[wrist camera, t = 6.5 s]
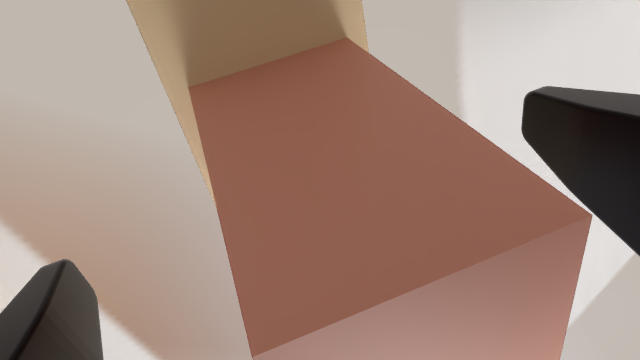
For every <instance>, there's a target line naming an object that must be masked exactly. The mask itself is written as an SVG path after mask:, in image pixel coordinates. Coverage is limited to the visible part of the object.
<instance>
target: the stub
mask: <svg viewBox="0 0 640 360" xmlns="http://www.w3.org/2000/svg"><path fill="white" fill-rule="evenodd" d="M126 1H127V3H128V6H129V8H130V10H131V12H132V15H133V17H134V19H135V22H136V24H137V26H138V29H139V31H140V33H141V35H142V38H143V40H144V42H145V45H146V47H147V49H148V52H149V54H150V56H151V59H152V61H153V63H154V66H155V68H156V70H157V72H158V75H159V77H160V79H161V81H162V84H163V86H164V88H165V91H166V93H167V95H168V98H169V100H170V102H171V105H172V107H173V109H174V111H175V114H176V116H177V118H178V121H179V123H180V125H181V128H182V130H183V132H184V134H185V137H186V139H187V141H188V144H189V146H190V148H191V150H192V153H193V155H194V157H195V160H196V162H197V164H198V166H199V169H200V171H201V173H202V176H203V178H204V180H205V183H206V185H207V187H208V190H209V192H210V194H211V197H212V199H213V201H214V203H215V205H216V208H217V211H218V216H219V220H220V224H221V228H222V232H223V237H224V241H225V245H226V249H227V253H228V258H229V262H230V266H231V270H232V274H233V279H234V283H235V287H236V291H237V296H238V300H239V304H240V309H241V313H242V317H243V321H244V325H245V329H246V333H247V338H248V342H249V347H250V350H251V355H252V358H253V360H560V357H561V352H562V348H563V343H564V339H565V335H566V330H567V326H568V321H569V317H570V313H571V308H572V304H573V299H574V295H575V290H576V286H577V282H578V277H579V273H580V268H581V264H582V259H583V255H584V251H585V246H586V242H587V237H588V233H589V228H590V224H591V220H592V215H591V214H590V213H589V212H587V211H586V210H585V209H583V208H582V207H580V206H579V205H578V204H576V203H575V202H573V201H572V200H571V199H569V198H568V197H567V196H565V195H564V194H562V193H561V192H560V191H558V190H557V189H556V188H554V187H553V186H551V185H550V184H549V183H547V182H546V181H545V180H543V179H542V178H540V177H539V176H538V175H536V174H535V173H534V172H532V171H531V170H529V169H528V168H527V167H525V166H524V165H522V164H521V163H520V162H518V161H517V160H516V159H514V158H513V157H511V156H510V155H509V154H507V153H506V152H505V151H503V150H502V149H500V148H499V147H498V146H496V145H495V144H494V143H492V142H491V141H489V140H488V139H487V138H485V137H484V136H482V135H481V134H480V133H478V132H477V131H476V130H474V129H473V128H471V127H470V126H469V125H467V124H466V123H465V122H463V121H462V120H460V119H459V118H458V117H456V116H455V115H453V114H452V113H451V112H449V111H448V110H447V109H445V108H444V107H442V106H441V105H440V104H438V103H437V102H435V101H434V100H433V99H431V98H430V97H429V96H427V95H426V94H424V93H423V92H422V91H420V90H419V89H418V88H416V87H415V86H414V85H412V84H411V83H409V82H408V81H407V80H405V79H404V78H402V77H401V76H400V75H398V74H397V73H396V72H394V71H393V70H391V69H390V68H389V67H387V66H386V65H385V64H383V63H382V62H380V61H379V60H378V59H376V58H375V57H374V56H372V55H371V54H369V51H368V43H367V36H366V28H365V21H364V13H363V5H362V0H126Z"/></svg>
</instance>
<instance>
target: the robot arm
mask: <svg viewBox="0 0 640 360" xmlns="http://www.w3.org/2000/svg"><path fill="white" fill-rule="evenodd" d="M522 134H523V137H524V138H525V140H526V141H527V142H528V144H529V145H530V146H531V147H532V148H533V149H534V150H535V152H536V153H537V154H538V155H539V156H540V157H541V159H542V160H543V161H544V162H545V163H546V164H547V165H548V167H549V168H550V169H551V170H552V171H553V172H554V173H555V175H556V176H557V177H558V178H559V179H560V180H561V182H562V183H563V184H564V185H565V186H566V187H567V188H568V189H569V190H570V191H571V192H572V193H573V194H574V195H575V196H576V197H577V198H578V199H579V200H580V201H581V202H582V203H583V204H584V205H585V206H586V207H587V208H588V209H589V210H591V211H592V212H593V213H594V214H595V215H596V216H597V217H598V218H599V219H600V220H601V221H602V222H603V223H604V224H606V225H607V226H608V227H609V228H610V229H611V230H612V231H613V232H614V233H615V234H616V235H617V236H618V237H619V238H621V239H622V240H623V241H624V242H625V243H626V244H627V245H628V246H629V247H630V248H631V249H632V250H633V251H634V252H636V253H637V254H638V255H639V256H640V95H638V94H627V93H616V92H606V91H595V90H584V89H573V88H562V87H552V86H546V87H542V88H539V89H536V90H534V91H531V92H529V93H528V94H527V95H526V96H525V98H524V104H523V116H522ZM0 360H103V350H102V341H101V331H100V321H99V311H98V302H97V297H96V294H95V292H94V290H93V288H92V287H91V286H90V284H89V283H88V282H87V280H86V279H85V278H84V276H83V275H82V274H81V272H80V271H79V270H78V268H77V267H76V266H75V265H74V263H73V262H71V261H70V260H67V259H63V260H60V261H57V262H55V263H51V264H49V265H46V266H43V267H42V268H40V269H39V271H38V272H37V273H36V274H35V275H34V276H33V277H32V278H31V280H30V281H29V282H28V283H27V284H26V285H25V286H24V287H23V289H22V290H21V291H20V292H19V293H18V294H17V295H16V296H15V298H14V299H13V300H12V301H11V302H10V303H9V304H8V306H7V307H6V308H5V309H4V310H3V311H2V312H1V313H0Z"/></svg>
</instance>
